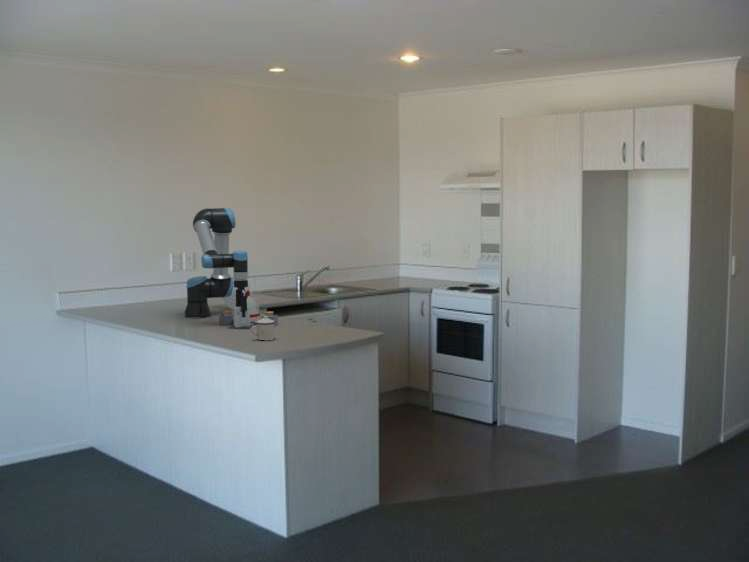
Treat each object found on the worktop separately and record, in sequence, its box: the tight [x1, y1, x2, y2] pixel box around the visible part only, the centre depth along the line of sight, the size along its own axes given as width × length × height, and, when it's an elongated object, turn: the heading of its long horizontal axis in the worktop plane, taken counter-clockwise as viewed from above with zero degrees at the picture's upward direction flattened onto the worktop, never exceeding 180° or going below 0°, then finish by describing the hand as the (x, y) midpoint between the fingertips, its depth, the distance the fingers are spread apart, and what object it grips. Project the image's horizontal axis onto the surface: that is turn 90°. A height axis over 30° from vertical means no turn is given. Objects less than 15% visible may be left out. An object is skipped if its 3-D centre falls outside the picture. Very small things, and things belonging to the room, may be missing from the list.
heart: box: [222, 272, 251, 310], centre depth 510 cm, size 28×16×22 cm, turn 38°
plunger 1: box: [222, 310, 233, 316], centre depth 451 cm, size 5×5×6 cm
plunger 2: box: [264, 310, 275, 317], centre depth 447 cm, size 5×5×6 cm
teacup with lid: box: [250, 315, 276, 341], centre depth 401 cm, size 12×9×12 cm
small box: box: [232, 306, 251, 327], centre depth 438 cm, size 8×6×10 cm
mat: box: [228, 324, 255, 330], centre depth 439 cm, size 9×12×1 cm
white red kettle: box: [246, 290, 261, 318], centre depth 482 cm, size 14×14×15 cm
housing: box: [218, 313, 279, 326], centre depth 449 cm, size 12×31×5 cm, turn 80°
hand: (241, 322), depth 439 cm, fingers open, 6 cm apart
